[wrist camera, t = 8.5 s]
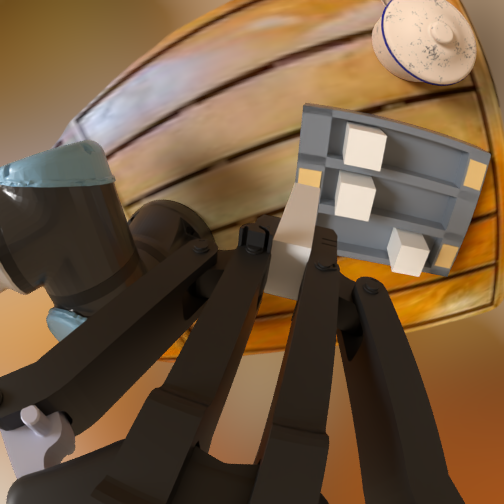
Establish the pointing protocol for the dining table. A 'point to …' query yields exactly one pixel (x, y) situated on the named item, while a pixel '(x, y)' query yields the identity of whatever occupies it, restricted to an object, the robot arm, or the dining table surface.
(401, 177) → the switch bank
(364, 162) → the tab
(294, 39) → the dining table surface
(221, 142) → the dining table surface
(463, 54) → the teacup with lid
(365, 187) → the tab
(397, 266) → the tab
